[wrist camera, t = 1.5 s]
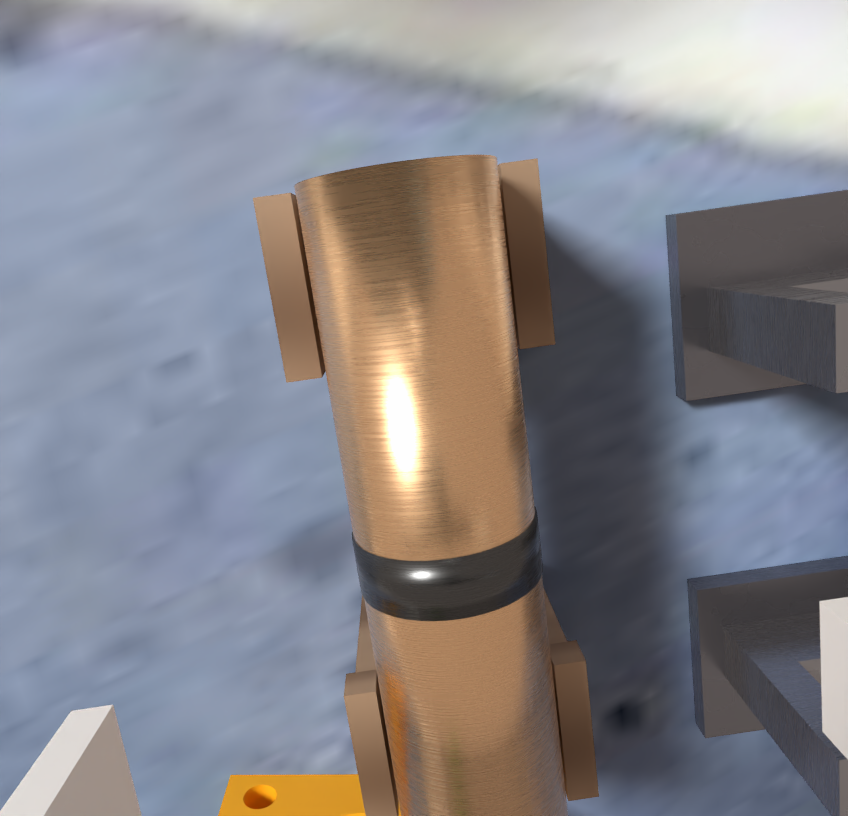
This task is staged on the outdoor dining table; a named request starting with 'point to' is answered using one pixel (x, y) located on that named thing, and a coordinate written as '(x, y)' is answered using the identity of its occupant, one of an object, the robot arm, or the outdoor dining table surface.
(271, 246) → the walnut rest
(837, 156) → the outdoor dining table surface
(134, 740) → the outdoor dining table surface
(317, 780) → the pipe clamp
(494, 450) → the tube
